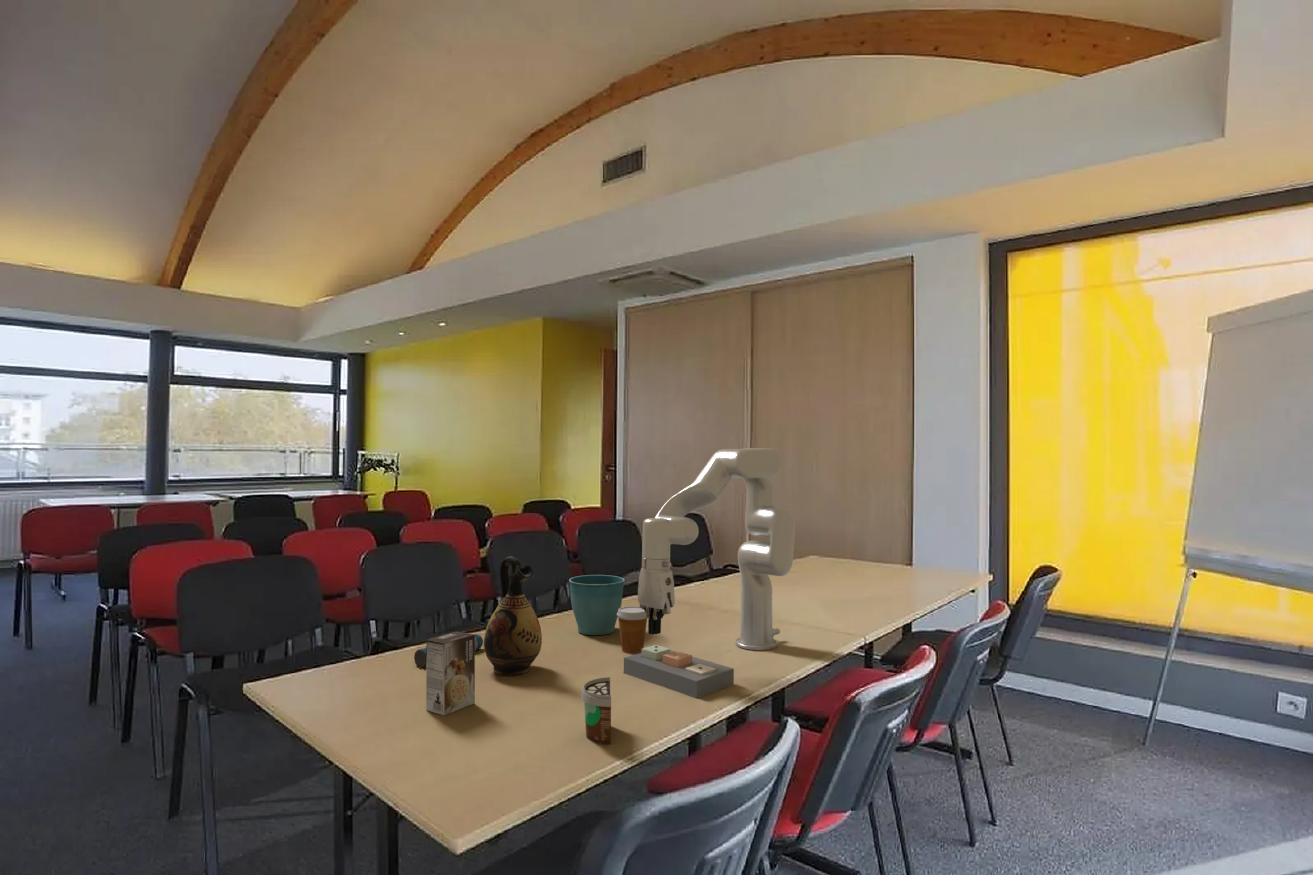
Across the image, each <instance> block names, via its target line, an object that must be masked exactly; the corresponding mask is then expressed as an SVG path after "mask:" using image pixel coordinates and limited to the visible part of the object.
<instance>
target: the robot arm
mask: <svg viewBox="0 0 1313 875" xmlns="http://www.w3.org/2000/svg"><path fill="white" fill-rule="evenodd" d="M783 466H784V458H783V456H782V453H781V451H778V449H776V448H774V447H773V448H769V447H767V448H766V447H763V448H762V447H760V448H759V447H758V448H757V447H756V448H755V447H746V448H745V447H744V448H722V449H719V450H716V451H715V452H714V453H713V454H712V455H711V457H710V458H709V460H708V461H707V463H706V464H705V465H704V467H703V468H702V469H701V471H700V472H699V474H698V475H697V477H695V479H694V481H693V482H692V483H691V484H690V485H688V486H686V487H684V488H683V489H682V490H680V491H679V492H677V493H675V495H673V496H671V497H670V498H669V499H667V501H666V502H665V503H664V504H663V505H662V507H661V508H660V509H659V511H658V513H657V514H656V515H655V517H649V518H645V519H644V520H643V522H642V540H641V541H642V544H641V545H642V546H641V548H642V551H641V554H642V555H641V568H640V572H639V577H638V585H637V586H638V587H637V602H638V603H639V607H640V608H641V609H643V610H645V612H646V615H647V622H648V624H647V625H648V626H647V627H648V628H647V633H648V634H649V635H653V636H655V635H658V634H659V635H660V634H661V633H662V619H663V618H664V616H665V615H670V614H671V612H672V611H671V608H673V607H675V599H676V598H675V581H674V575H673V571H672V570H670V569H671V567H672V562H671V545H683V546H686V545H690V544H692V543H694V542H695V541H696V539H697V538H698V536H699V533H700V532H699V526H698V524H697V523H696V521H695V520H693V519H692V518H689V517H686V515H688V514H690V513H691V512H693V511H694V512H695V511H696V510H699V509H703V508H705V507H707V506H710V505H712V504H713V505H714V503H716V502H717V501H718V500H719V498H720V497H721V496H722V494H723V492H724V491H725V489H726V488H727V486H728V485H729V484H730V482H731V481H732V480H733V479H742V481H743V482H744V485H745V486H744V487H745V491H746V495H745V496H746V497H745V499H746V501H745V515H744V527H745V530H746V532H747V533H748V534H749V535H751V536H755V537H762V538H769V540H770V541H769V542H768V541H763V540H762V541H761V540H757V539H756V540H753V539H752V540H747V541H745V542H743V543H742V544H741V545H740V546H739V548H738V550H737V564H738V568H739V574H740V637H738V638H736V639H735V645H736V646H737V647H739V648H742V649H745V650H751V651H766V650H767V651H769V650H773V649H775V648H776V647H777V646H778V641H777V640H776V638H775V639H774V637H775V636H777V635H780V633H781V629H780V628H779V627H775V628H773V585H772V580H771V578H770V576H775V577H784V576H786V575H787V574H788V573H790V571H791V569H792V568H793V563H794V562H793V561H794V550H795V539H796V537H795V534H796V522H795V518H794V515H793V513H792V512H791V511H790V510H789V509H788V508H786V507H783V506H775V488H774V485H773V484H774V483H773V481H772V479H771V478H773V477H775V476H778V475H779V474H781V471H782V469H783Z"/></svg>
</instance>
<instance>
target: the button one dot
mask: <svg viewBox="0 0 1313 875" xmlns="http://www.w3.org/2000/svg"><path fill="white" fill-rule="evenodd" d="M685 671H689V672H692V673H695V674H698V675H704V674H707V673H710V672H713V671H716V668H713V667H709V666H706V665H702V664H697V665H694V666H691V667H687V668H685Z"/></svg>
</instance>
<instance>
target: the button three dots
mask: <svg viewBox="0 0 1313 875" xmlns="http://www.w3.org/2000/svg"><path fill="white" fill-rule="evenodd" d="M674 651H675V650H674ZM692 657H693V655H692V654H690V653H689V654H688V653H687V652H683V651H679V650H676V651H675V652H672V653H668V654H665V655H663V664H666V665H669V666H673V667H676V668H680V667H683V666H686V665H689V664H692Z"/></svg>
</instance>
